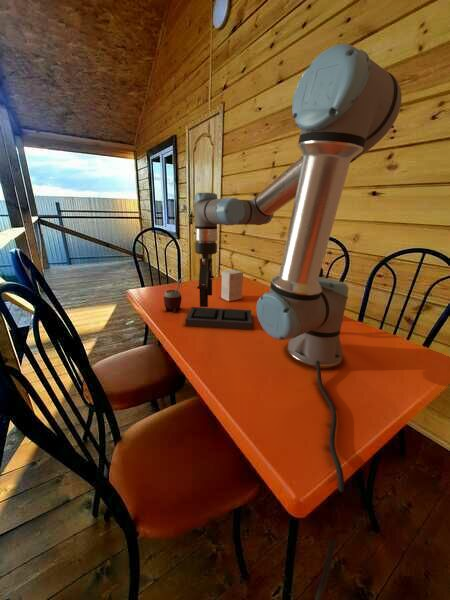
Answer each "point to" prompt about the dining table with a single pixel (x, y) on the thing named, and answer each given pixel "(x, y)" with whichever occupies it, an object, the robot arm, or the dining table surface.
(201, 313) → the pad
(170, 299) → the mate gourd
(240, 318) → the pad
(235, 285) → the small box
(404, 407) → the dining table surface
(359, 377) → the dining table surface
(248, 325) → the frame
